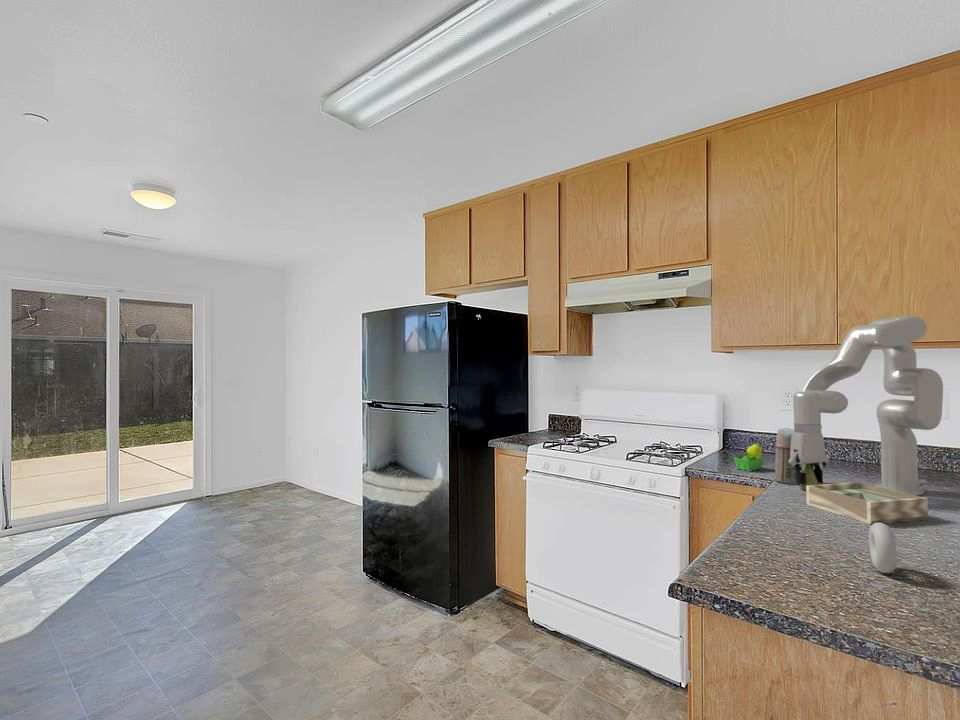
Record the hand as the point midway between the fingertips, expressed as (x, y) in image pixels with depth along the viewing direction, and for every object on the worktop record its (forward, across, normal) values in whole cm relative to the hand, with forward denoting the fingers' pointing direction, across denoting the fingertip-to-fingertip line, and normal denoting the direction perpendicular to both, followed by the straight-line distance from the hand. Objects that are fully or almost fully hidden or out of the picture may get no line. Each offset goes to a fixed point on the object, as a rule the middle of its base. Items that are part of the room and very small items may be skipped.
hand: (809, 482), depth 163 cm
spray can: (+5, -9, -18) cm, 21 cm away
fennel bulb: (+3, 0, 0) cm, 3 cm away
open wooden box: (+4, +1, +19) cm, 20 cm away
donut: (+4, +39, +54) cm, 67 cm away
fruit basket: (+5, -13, -41) cm, 43 cm away
